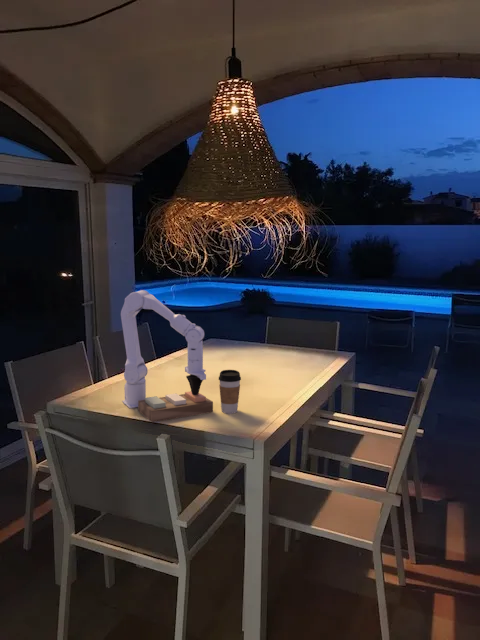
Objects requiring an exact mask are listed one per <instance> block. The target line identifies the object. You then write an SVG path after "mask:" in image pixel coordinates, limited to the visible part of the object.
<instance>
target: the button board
mask: <svg viewBox="0 0 480 640" xmlns="http://www.w3.org/2000/svg"><path fill="white" fill-rule="evenodd" d="M179 395H180V396H181V397H183V398H184V399H186V404H182V405H175V406H174V405H173V404H171V403H170V402H169V401H167V400H166V397H165V396H162V397H161V396H160V397H159V398H160V399H161V400H163V401H164V402H165V403H166V407H162V408H156V409H153V408H152V407H151V406H149V405H148V404H147V403H145V400H139V401H138V407H137V408H138V412H139V413H140V414H142V415H143V416H144V417H145V418H146V419H148V420H149V422H151V423H156V422H161V421H166V420H167V421H168V420H172V419H179V418H187V417H191V416H197V415H202V414H203V415H204V414H210V413H213V412H214V402H213V400H211V399H209V398H208V397H206V401H201V402H193V401H191V400H190V399H188V398H187V397H185V393H183V394H182V393H181V394H179Z"/></svg>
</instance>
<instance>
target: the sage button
mask: <svg viewBox="0 0 480 640" xmlns="http://www.w3.org/2000/svg"><path fill="white" fill-rule="evenodd" d="M145 403H147V404H148V405H149V406H151V407H152V408H153V409H156V408H162V407H166V403H165V402H164V401H163V400H161V399H160V397H158V396H148V397H147V396H146V398H145Z"/></svg>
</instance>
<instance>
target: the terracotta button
mask: <svg viewBox="0 0 480 640" xmlns="http://www.w3.org/2000/svg"><path fill="white" fill-rule="evenodd" d="M184 394H185V397H187V398H188V399H190V400H191V401H193V402H201V401H206V398H207V397H206V396H205V395H204V394H202V393H200V392H199V394H197V395H193V394H192V392H191V390H190V391H185V392H184Z"/></svg>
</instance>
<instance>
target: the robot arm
mask: <svg viewBox="0 0 480 640" xmlns="http://www.w3.org/2000/svg"><path fill="white" fill-rule="evenodd" d="M142 309H144V310H153V311H154V312H155V313H157V314H158V315H160V316H161V317H163V318H164V319H165V320H167V321H169V325H170V327H171V328H173V329H174V330H175V331H176V332H177V333H179V334H181V335H182V336H183V337H185V340H186V342H187V366H184V372H186V373H187V374H189V375H186V376H185V377H186V379H187V381H188V384H189V386H190V391H191V392H192V394H193V395H197V394H199V393H200V389H201V385H202V383H203V382H204V380H205V381H206V380H207V373H205V372H206V369H205V368H204V366H203V365H204V360H203V358H204V355H203V354H204V347H203V346H204V345H203V339H204V338H205V330H204V329H203V328H202V327H201V326H199V325H196V323H192V322H191V321H190V320H189V319H187V317H186V315H185V314H180V313H178V314H175V312H173V311H172V310H171V309H169V308H168V307H167V305H165V304H163V302H161V301H160V300H159V299H157V298H156V297H155V296H154V294H151V293H149V291H147V290H145V289H140V290H138V291H133V292H130V293H129V294H128V295H126V297H125V298H124V303H123V305H122V308H121V310H120V319H121V326H122V333H123V341H124V347H125V352H126V353H125V354H126V361H125V364H124V369H125V370H124V373H123V378H124V380H125V383H124V386H123V387H124V399H123V400H122V401H121V402H122V403H123V404H124V405H125V406H127V407H128V408H129V409H134V408H138V401H139V400H145V398H147V394H146V393H147V392H146V391H147V390H146V389H147V387H146V386H147V385H146V384H147V382H146V378H145V377H147V374H148V366H147V365H146V364H145V360H144V358H143V357H142V355H141V348H140V340H139V339H140V338H139V334H138V333H139V331H138V327H137V326H138V325H137V319H136V316H137V315H138V313H140V311H141V310H142Z"/></svg>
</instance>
